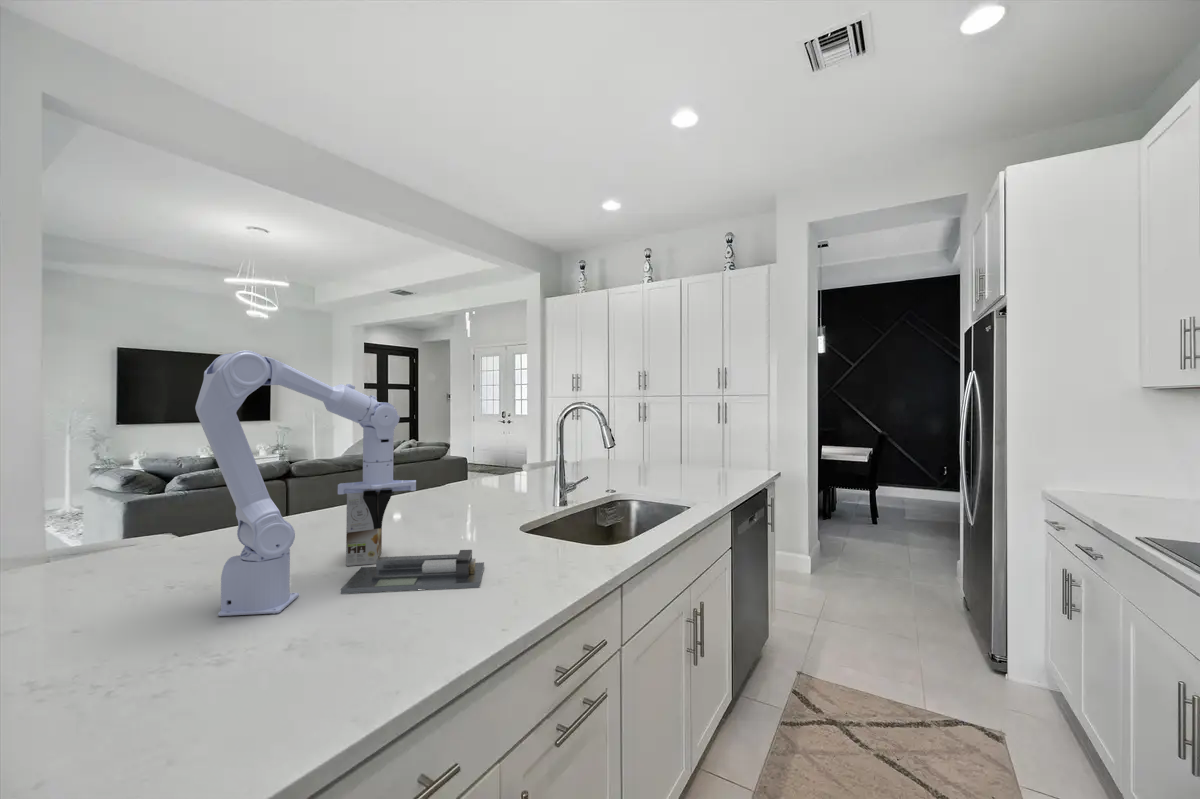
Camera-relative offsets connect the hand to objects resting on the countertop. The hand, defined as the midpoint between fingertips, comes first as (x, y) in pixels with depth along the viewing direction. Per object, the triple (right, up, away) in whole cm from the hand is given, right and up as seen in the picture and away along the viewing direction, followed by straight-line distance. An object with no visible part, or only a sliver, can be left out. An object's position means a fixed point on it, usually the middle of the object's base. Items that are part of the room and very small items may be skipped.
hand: (377, 527), depth 103 cm
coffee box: (-8, -10, +11) cm, 17 cm away
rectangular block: (+15, -9, -1) cm, 17 cm away
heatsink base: (+9, -10, -2) cm, 13 cm away
